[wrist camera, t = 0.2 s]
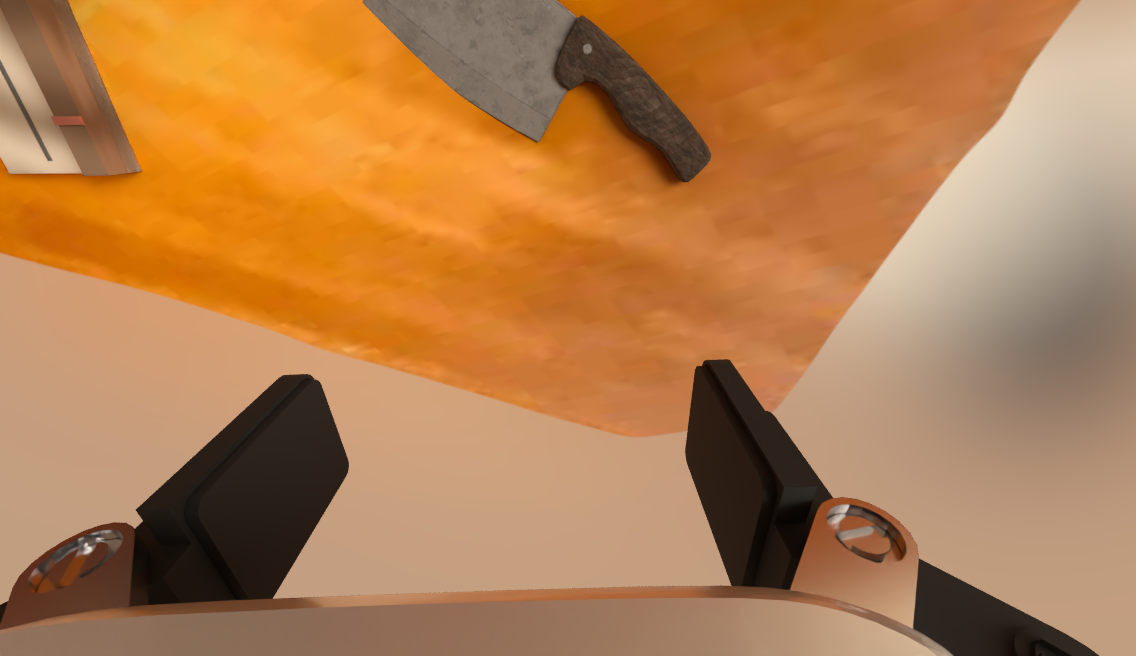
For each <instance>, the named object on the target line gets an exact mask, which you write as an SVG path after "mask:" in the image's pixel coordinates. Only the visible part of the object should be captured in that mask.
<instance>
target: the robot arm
mask: <svg viewBox="0 0 1136 656" xmlns="http://www.w3.org/2000/svg"><path fill="white" fill-rule="evenodd" d="M685 453H686V461H687V464H688V467H689V470H690V472H691V475H692V478H693V481H694V484H695V487H696V489H697V492H698V495H699V497H700V500H701V503H702V506H703V509H704V511H705V514H706V517H707V520H708V522H709V525H710V528H711V530H712V533H713V536H714V539H715V542H716V544H717V547H718V550H719V552H720V555H721V558H722V561H723V564H724V566H725V569H726V572H727V575H728V577H729V580H730V583H731V586H648V587H610V588H609V587H608V588H572V589H537V590H505V591H504V590H503V591H475V592H443V593H415V594H386V595H359V596H358V595H357V596H332V597H309V598H308V597H307V598H282V599H273V597H274V595H275V594H276V592H277V590H278V589H279V587H280V585H281V584H282V582H283V580H284V578H285V577H286V575H287V574H288V572H289V570H290V569H291V567H292V565H293V564H294V562H295V560H296V559H297V557H298V555H299V554H300V552H301V550H302V549H303V547H304V545H305V543H306V542H307V540H308V539H309V537H310V535H311V534H312V532H313V530H314V529H315V527H316V525H317V524H318V522H319V520H320V519H321V517H322V515H323V514H324V512H325V510H326V509H327V507H328V505H329V504H330V502H331V500H332V499H333V497H334V495H335V494H336V492H337V490H338V489H339V487H340V486H341V484H342V482H343V480H344V479H345V477H346V475H347V473H348V468H349V462H348V458H347V456H346V453H345V450H344V447H343V444H342V441H341V439H340V436H339V433H338V430H337V427H336V425H335V422H334V419H333V416H332V413H331V411H330V408H329V405H328V402H327V399H326V397H325V394H324V391H323V388H322V385H321V383H320V382H319V381H318V380H314V378H313V377H312V376H311V375H308V374H300V375H283V376H281V377H280V378H278V379H277V380H276V381H275V382H274V383H273V384H272V385H271V386H270V387H269V388H268V389H267V390H265V391H264V392H263V393H262V394H261V395H260V396H259V397H258V398H257V399H256V400H255V401H253V402H252V403H251V404H250V405H249V406H248V407H247V408H246V409H245V410H244V411H243V412H241V413H240V414H239V415H238V416H237V417H236V418H235V419H234V420H233V421H232V422H231V423H230V424H229V425H227V426H226V427H225V428H224V429H223V430H222V431H221V432H220V433H219V434H218V435H217V436H215V437H214V438H213V439H212V440H211V441H210V442H209V443H208V444H207V445H206V446H205V447H203V449H201V450H200V451H199V452H198V453H197V454H196V455H195V456H194V457H193V458H192V459H190V461H188V462H187V463H186V464H185V465H184V466H183V467H182V468H181V469H180V470H179V471H178V472H176V473H175V474H174V475H173V476H172V477H171V478H170V479H169V480H168V481H167V482H166V483H164V485H162V486H161V487H160V488H159V489H158V490H157V491H156V492H155V493H154V494H153V495H151V496H150V497H149V498H148V499H147V500H146V501H145V502H144V503H143V504H142V505H140V506H139V507H138V508H137V509H136V511H137V512H138V514H139V515H140V517H141V518H142V520H143V522H142V523H141V524H140V525H139V526H137V527H136V529H134V528H133V527H132V526H131V525H129V524H127V523H110V524H105V525H100V526H97V527H94V528H91V529H88V530H85V531H83V532H81V533H79V534H77V535H75V536H72V537H70V538H68V539H66V540H65V541H63V542H61V543H59V544H58V545H56V546H55V547H53V548H51V549H50V550H49V551H47V552H46V553H44V554H43V555H42V556H40V557H39V558H38V559H37V560H35V561H34V562H33V563H31V565H30V566H29V567H28V568H27V569H26V570H25V571H24V572H23V573H22V574H21V575H20V576H19V578H18V580H17V581H16V583H15V585H14V586H13V588H12V592H11V595H10V597H9V601H7V602H5V603H3V604H1V605H0V656H1099V655H1097V654H1096V653H1095V652H1094V651H1092V650H1091V649H1089V648H1088V647H1087V646H1085V645H1083V644H1082V643H1080V642H1078V641H1077V640H1075V639H1073V638H1072V637H1070V636H1068V635H1067V634H1065V633H1063V632H1061V631H1059V630H1057V629H1055V628H1053V627H1051V626H1049V625H1047V624H1045V623H1043V622H1042V621H1039V620H1038V619H1036V618H1034V617H1032V616H1030V615H1028V614H1026V613H1024V612H1022V611H1020V610H1018V609H1016V608H1014V607H1012V606H1010V605H1008V604H1006V603H1005V602H1003V601H1001V600H999V599H996V598H995V597H993V596H991V595H989V594H987V593H985V592H983V591H981V590H979V589H977V588H975V587H973V586H971V585H969V584H967V583H966V582H963V581H961V580H960V579H958V578H956V577H954V576H952V575H950V574H948V573H946V572H944V571H942V570H940V569H938V568H936V567H934V566H932V565H930V564H929V563H927V562H924V561H923V560H921V559H919V554H918V548H917V544H916V542H915V541H914V539H913V537H912V535H911V534H910V532H909V531H908V530H907V529H906V528H905V527H904V526H903V525H902V524H901V523H900V522H899V521H898V520H897V519H895V518H894V517H892V516H891V515H890V514H888V513H887V512H886V511H884V510H882V509H880V508H877V507H876V506H874V505H872V504H870V503H867V502H864V501H861V500H857V499H852V498H844V497H841V498H833V497H832V496H831V494H830V493H829V492H828V490H827V489H826V487H825V486H824V485H823V483H822V482H821V480H820V479H819V478H818V476H817V475H816V473H815V472H814V471H813V469H812V468H811V466H810V465H809V464H808V462H807V461H806V459H805V458H804V457H803V455H802V454H801V452H800V451H799V450H798V448H797V447H796V445H795V444H794V443H793V441H792V440H791V438H790V437H789V436H788V434H787V433H786V431H785V430H784V429H783V427H782V426H781V424H780V423H779V422H778V420H777V419H776V417H775V416H774V415H773V414H772V413H771V412H768V411H765V410H764V409H763V407H762V406H761V404H760V403H759V401H758V400H757V399H756V397H755V396H754V394H753V393H752V391H751V390H750V389H749V387H748V386H747V384H746V383H745V381H744V380H743V378H742V377H741V376H740V374H739V373H738V371H737V370H736V368H735V367H734V365H733V364H732V363H731V361H730V360H727V359H725V360H705V361H704V362H703V365H702V366H697V367H696V369H695V375H694V383H693V391H692V399H691V408H690V416H689V424H688V432H687V440H686V449H685Z"/></svg>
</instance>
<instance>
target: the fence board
mask: <svg viewBox="0 0 1136 656" xmlns="http://www.w3.org/2000/svg"><path fill="white" fill-rule="evenodd" d="M0 157H1V159H2V161H3V163H4V164H5V166H6V168H7V170H8V171H9V173H10V174H47V173H82V174H83V176H109V175H116V174H124V173H132V172H140V171H141V169H140V167H139V165H138V162H137V160H136V158H135V155H134V153H133V151H132V148H131V146H130V144H129V142H128V139H127V137H126V135H125V132H124V130H123V128H122V125H121V123H120V121H119V119H118V116H117V114H116V112H115V109H114V107H113V105H112V102H111V100H110V98H109V96H108V93H107V91H106V89H105V86H104V84H103V82H102V80H101V77H100V75H99V73H98V70H97V68H96V66H95V63H94V61H93V59H92V57H91V54H90V52H89V50H88V47H87V45H86V43H85V40H84V38H83V36H82V34H81V31H80V29H79V27H78V24H77V22H76V20H75V18H74V15H73V13H72V11H71V8H70V6H69V4H68V1H67V0H0Z"/></svg>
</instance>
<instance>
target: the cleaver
mask: <svg viewBox="0 0 1136 656" xmlns="http://www.w3.org/2000/svg"><path fill="white" fill-rule="evenodd" d="M363 4H364V5H365V6H366V7H367V8H368V9H369V10H370V11H371V12H372V13H373V14H374V15H375V16H376V17H377V18H378V19H379V20H380V21H381V22H382V23H383V24H384V25H385V26H386V27H387V28H388V29H389V30H390V31H391V32H392V33H393V34H394V35H395V36H396V37H397V38H398V39H399V40H400V41H401V42H402V43H403V44H404V45H405V46H406V47H407V48H408V49H409V50H410V51H411V52H412V53H414V54H415V55H416V56H417V57H418V58H419V59H420V60H421V61H422V62H423V63H424V64H425V65H426V66H427V67H428V68H429V69H430V70H432V71H433V72H434V73H435V74H436V75H437V76H438V77H439V78H441V79H442V80H443V81H444V82H445V83H446V84H447V85H448V86H450V87H451V88H452V89H453V90H454V91H456V92H457V93H458V94H459V95H461V96H462V97H464V98H465V99H467V100H468V101H469V102H471V103H472V104H474V105H475V106H477V107H479V108H480V109H482V110H483V111H485V112H487V113H488V114H490V115H491V116H493V117H494V118H496V119H498V120H500V121H501V122H503V123H505V124H507V125H508V126H510V127H512V128H514V129H515V130H517V131H519V132H521V133H523V134H524V135H526V136H528V137H530V138H532V139H534V140H535V141H537V142H539V141H540V139H541V138H542V136H543V134H544V132H545V130H546V129H547V127H548V125H549V123H550V121H551V120H552V118H553V116H554V114H555V112H556V110H557V109H558V107H559V105H560V103H561V101H562V99H563V98H564V96H565V94H566V92H567V90H569V91H570V90H571V89H573V88H574V87H576V86H578V85H579V84H581V83H582V82H584V81H588V82H594V83H596V84H597V85H598V86H599V87H601V88H602V89H603V90H604V91H605V92H606V93H607V95H608V96H609V97H610V99H611V100H612V102H613V104H614V106H615V107H616V109H617V111H618V113H619V115H620V116H621V118H622V120H623V121H624V122H625V124H626V125H627V126H628V128H629V129H630V130H632V131H633V132H634V133H635V134H637V135H638V136H640V137H641V138H643V139H645V140H646V141H648V142H650V143H651V144H653V145H655V146H656V147H657V148H658V149H659V150H660V151H661V152H662V153H663V154H664V155H665V157H666V158H667V160H668V161H669V163H670V164H671V166H672V168H673V170H674V171H675V173H676V175H677V176H678V178H679V179H680V180H681V181H682V182H689V181H690V180H691V179H693V178H694V177H695V176H696V175H697V174H698V173H699V172H700V171H701V170H702V169H703V168H704V167H705V166H706V165H707V163H708V162H709V161H710V158H711V153H710V151H709V149H708V147H707V145H706V144H705V142H704V141H703V139H702V138H701V136H700V135H699V134H698V132H697V131H696V130H695V128H694V127H693V125H692V124H691V123H690V122H689V120H688V119H687V118H686V117H685V115H684V114H683V113H682V112H681V111H680V110H679V108H678V107H677V106H676V105H675V104H674V103H673V102H672V100H671V99H670V98H669V97H668V96H667V95H666V94H665V92H664V91H663V90H662V89H661V88H660V87H659V86H658V85H657V84H656V83H655V81H654V80H653V79H652V78H651V77H650V76H649V75H648V74H647V73H646V72H645V71H644V70H643V69H642V68H641V67H640V65H639V64H638V63H637V62H636V61H635V60H634V59H633V58H632V57H631V56H630V55H628V54H627V53H626V52H625V51H624V50H623V49H622V48H621V47H620V46H619V45H618V44H617V43H616V42H614V41H613V40H612V39H611V38H610V37H609V36H608V35H607V34H605V33H604V32H603V31H602V30H601V29H600V28H598V27H597V26H596V25H595V24H594V23H592V22H591V21H590V20H588V19H587V18H586V17H584V16H580V17H579V18H577V17H576V16H575V15H574V14H573V13H571V12H570V11H569V10H568V9H567V8H565V7H564V6H563V5H562V4H561V3H559V2H558V1H557V0H364V1H363Z"/></svg>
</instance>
